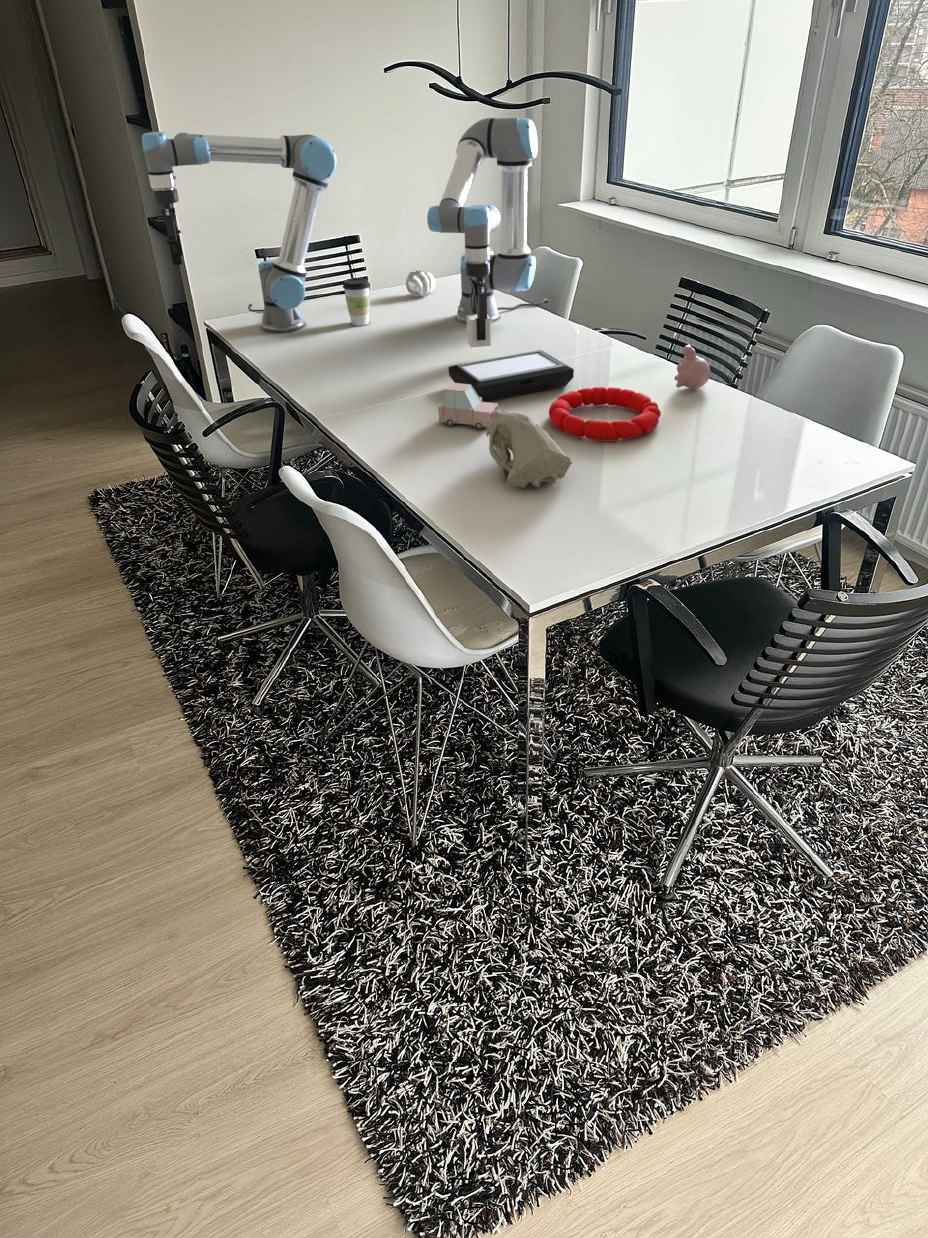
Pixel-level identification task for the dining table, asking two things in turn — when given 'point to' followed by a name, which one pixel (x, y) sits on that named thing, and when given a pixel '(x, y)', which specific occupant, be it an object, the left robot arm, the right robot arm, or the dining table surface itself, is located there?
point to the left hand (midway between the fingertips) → (178, 259)
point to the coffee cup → (357, 300)
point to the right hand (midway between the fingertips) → (479, 336)
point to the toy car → (465, 406)
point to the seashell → (420, 283)
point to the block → (473, 332)
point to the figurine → (692, 370)
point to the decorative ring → (604, 428)
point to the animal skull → (525, 450)
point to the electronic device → (512, 374)
